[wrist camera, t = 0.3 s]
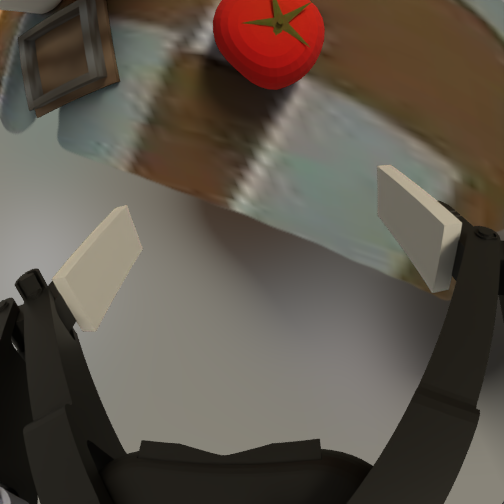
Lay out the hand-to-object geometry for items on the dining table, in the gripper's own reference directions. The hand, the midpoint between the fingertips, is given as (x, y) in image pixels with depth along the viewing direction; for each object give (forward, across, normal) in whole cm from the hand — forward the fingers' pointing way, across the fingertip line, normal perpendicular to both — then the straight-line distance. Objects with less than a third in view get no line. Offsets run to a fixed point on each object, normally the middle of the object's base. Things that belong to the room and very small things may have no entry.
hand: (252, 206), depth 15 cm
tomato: (+28, +4, +12) cm, 31 cm away
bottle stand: (+28, -25, +20) cm, 42 cm away
